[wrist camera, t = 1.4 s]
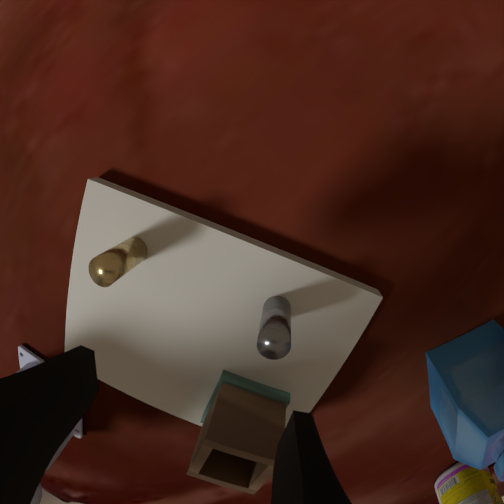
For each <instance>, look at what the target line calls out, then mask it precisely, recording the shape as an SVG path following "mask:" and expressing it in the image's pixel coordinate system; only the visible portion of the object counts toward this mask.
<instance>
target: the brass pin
mask: <svg viewBox="0 0 504 504" xmlns="http://www.w3.org/2000/svg"><path fill="white" fill-rule="evenodd" d="M147 252H148V251H147V246H146V244H145V242H144V241H143V240H142V239H140V238H138V237H131V238H129V239H127V240H125V241H123V242H121V243H119V244H117V245H116V246H114V247H112V248H110V249H108V250H107V251H105V252H103V253H101V254H99V255H98V256H96V257H94V258H93V259H92V260H91V261H90V263H89V274H90V277H91V279H92V280H93V281H94V282H95V283H96V284H97V285H98V286H101V287H109V286H110V285H112V284H113V283H114V282H116V281H117V280H118V279H120V278H121V277H122V276H124V275H125V274H126V273H128V272H129V271H130V270H132V269H133V268H134V267H136V266H137V265H138V264H140V263H141V262H142V261H144V260H145V258H146V257H147Z"/></svg>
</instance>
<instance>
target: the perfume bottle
mask: <svg viewBox="0 0 504 504" xmlns="http://www.w3.org/2000/svg"><path fill="white" fill-rule="evenodd" d="M426 360H427V368H428V378H429V389H430V403H431V408H432V410H433V412H434V414H435V417H436V419H437V421H438V423H439V425H440V428H441V430H442V432H443V434H444V437H445V439H446V441H447V443H448V446H449V448H450V450H451V453H452V455H453V458H454V459H455V460H457V461H460V462H462V463H464V464H467V465H469V466H472V467H474V468H477V469H479V470H481V469H483V468H485V467H487V466H488V465H490V464H492V463H494V462H496V464H495V465H494V471H495V473H496V475H497V477H498V479H499V481H504V329H503V328H502V327H501V326H500V325H499V324H498V323H497V322H496V321H494V320H491V321H489V322H487V323H486V324H484V325H482V326H480V327H478V328H476V329H474V330H472V331H470V332H468V333H466V334H464V335H462V336H460V337H458V338H456V339H454V340H452V341H449V342H447V343H445V344H443V345H441V346H439V347H436V348H434V349H432V350H430V351H427V352H426Z"/></svg>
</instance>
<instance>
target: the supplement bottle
mask: <svg viewBox="0 0 504 504" xmlns="http://www.w3.org/2000/svg"><path fill="white" fill-rule="evenodd" d="M435 491H436V494H437V497H438V500H439V503H440V504H504V503H503V501H502V498H501V496H500V493H499V491H498V489H497V487H496V484H495V482H494V480H493V477H492V475H491V473H490V471H489V469H488V467H485V468H483V469H481V470H479V469H477V468H474V467H472V466H469V465H467V464H464V463H462V462H458V463H456V464H454V465H453V466H451V467H450V468H448V469H447V470H446V471H444V472H443V473H442V474H441V475H440V476H439V477H438V479H437V480H436V483H435Z"/></svg>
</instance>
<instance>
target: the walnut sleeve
mask: <svg viewBox="0 0 504 504" xmlns="http://www.w3.org/2000/svg"><path fill="white" fill-rule="evenodd" d="M289 404H290V393H289V392H285V391H282V390H279V389H276V388H273V387H270V386H267V385H264V384H261V383H258V382H256V381H253V380H250V379H247V378H244V377H242V376H239V375H236V374H234V373H231V372H228V371H226V370H223V371H222V373H221V376H220V378H219V380H218V382H217V384H216V387H215V389H214V391H213V393H212V395H211V398H210V400H209V402H208V404H207V406H206V409H205V411H204V413H203V416H202V419H201V423H203V425H202V428H201V431H200V434H199V437H198V441H197V444H196V447H195V450H194V453H193V456H192V459H191V462H190V465H189V468H188V471H187V475H190V476H193V477H196V478H199V479H202V480H205V481H208V482H211V483H214V484H218V485H221V486H224V487H228V488H231V489H235V490H239V491H242V492H246V493H250V494H255V493H256V492H257V490H258V489H259V488H260V487H261V486H262V485H263V484H264V483H265V482H266V481H267V480H268V479H269V478H270V477H271V476H272V475H273V468H274V462H275V457H276V451H277V445H278V443H279V441H280V439H281V436H282V434H283V432H284V430H285V421H286V408H287V407H288V405H289Z"/></svg>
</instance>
